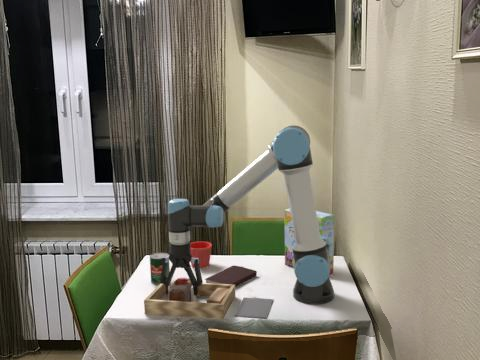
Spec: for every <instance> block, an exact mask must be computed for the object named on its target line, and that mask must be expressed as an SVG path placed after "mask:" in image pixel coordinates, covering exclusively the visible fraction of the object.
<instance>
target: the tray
mask: <svg viewBox="0 0 480 360" xmlns="http://www.w3.org/2000/svg"><path fill="white" fill-rule="evenodd" d="M174 281H175V280H171V283H170V284H173V283H174ZM217 288H227V289H229V290H228V292H227V294H226V295H225V297H224V299H223V300H222V302H221V304H218V303H207V302H201V301H200V302H198V301H196V302H186V301H170V300H169V299H168V300H167V299H163V298H164V297H165V296H166V295H167V294H166V286H165V284H161V283H160V284H157V286H156V287H155V288H154V290H152V292H150V294H148V296H147V297H146V298H145V299H143V305H144V307H143V308H144V314H145V315H155V316H156V315H157V316H169V317H170V316H173V317H187V318H201V319H216V320H224V319H225V318H226V316H227V313H228V312H229V310H230V308H231V307H232V305H233V303H234V301H235V299H236V287H235V285H233V284H215V283H206V282H203V283H202V284H201V285H200V286H198V294H197V295H195V297H203V298H204V297H205V298H209V297H210V296H211V295H212V294H213V292H214V291H215V290H216V289H217ZM231 304H232V305H231Z"/></svg>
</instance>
